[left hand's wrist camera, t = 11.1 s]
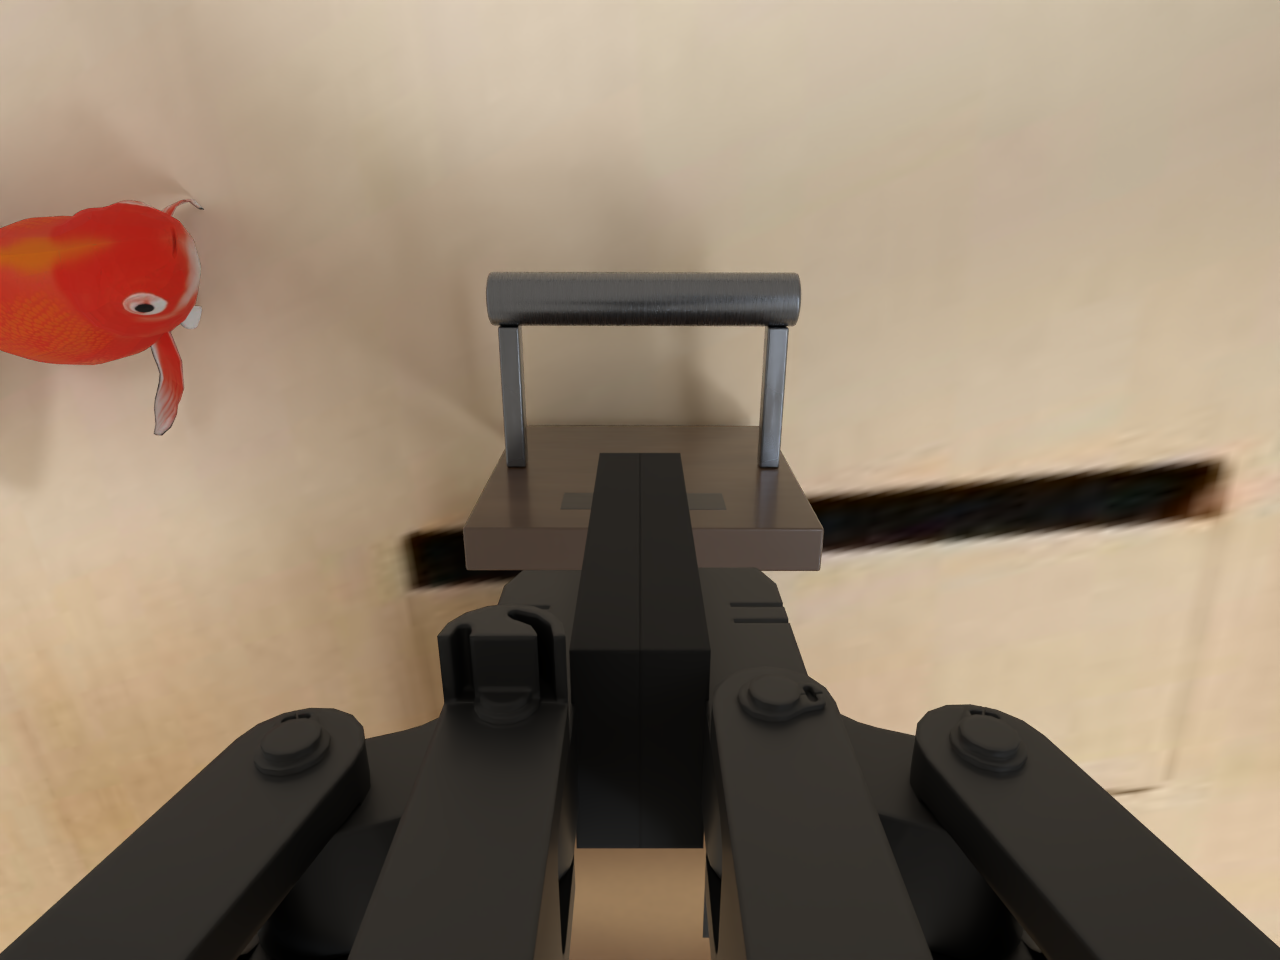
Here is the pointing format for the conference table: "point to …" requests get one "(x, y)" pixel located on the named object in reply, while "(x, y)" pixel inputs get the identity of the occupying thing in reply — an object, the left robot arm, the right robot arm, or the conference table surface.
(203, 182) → the conference table surface
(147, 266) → the fish
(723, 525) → the drawer
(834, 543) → the conference table surface
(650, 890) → the cabinet
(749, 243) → the conference table surface
